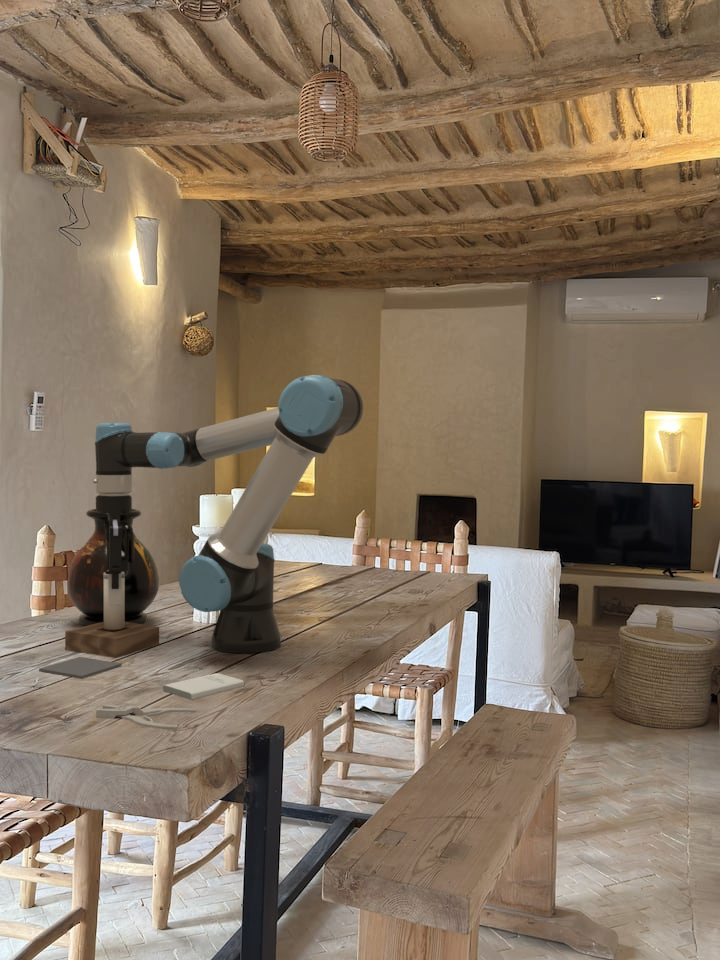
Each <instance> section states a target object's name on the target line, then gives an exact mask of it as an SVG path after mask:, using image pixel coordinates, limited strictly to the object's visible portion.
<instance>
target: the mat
mask: <svg viewBox="0 0 720 960" xmlns="http://www.w3.org/2000/svg"><path fill="white" fill-rule="evenodd" d="M122 666H123V665H122V663H121V662H115V661H109V660H104V659H103V660H102V659H96V658H91V657H85V656H84V657H83V656H77V657H75V658H71V659H67V660H63V661H60V662H57V663H54V664H50V665H46V666H42V667H40V668H38V669H39V671H38V672H44V673H48V674H53V673H54V674H55V675H59V674H60V675H61V676H64V675H66V677H70V676H72V677H71V678H76V677H77V679H81V678H82V679H85V678H89V677H91V676H95V675H97V674H101V673H103V672H108V671H110V670H113V669H117V668H119V667H120V668H121V667H122ZM60 675H59V676H60ZM88 676H89V677H88ZM84 677H85V678H84Z"/></svg>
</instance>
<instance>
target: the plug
mask: <svg viewBox="0 0 720 960" xmlns="http://www.w3.org/2000/svg"><path fill="white" fill-rule="evenodd" d="M103 578H104V629H108V630H116V629H122V628H125V572H121V604H108V574H105V572H104V574H103Z"/></svg>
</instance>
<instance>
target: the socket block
mask: <svg viewBox="0 0 720 960" xmlns="http://www.w3.org/2000/svg"><path fill="white" fill-rule="evenodd" d="M64 636H65V637H64V638H65V641H64V645H65V647H64V650H66V651H69V652H70V651H71V652H77V653H82V654H83V653H84V654H89V655H95V656H96V655H97V656H103V657H109V658H119V657H123V656H127V655H130V654H132V653H133V654H134V653H136V651H137V652H139V650H140V651H142V650H146V649H150V648H152V647H156V646H159V645H160V626H158V625H150V624H136V623H129V622H125V628H122V629H116V630H108V629H104V622H100V623H96V624H92V625H88V626H84V627H83V626H80V627H77V628H72V629H69V630H65V631H64Z"/></svg>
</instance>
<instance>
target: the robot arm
mask: <svg viewBox="0 0 720 960" xmlns="http://www.w3.org/2000/svg"><path fill="white" fill-rule="evenodd" d="M363 414H364V402H363V399H362V395H361V394H360V392H359V390H358V389H357V388H356V387H355V386H354V385H353V384H352V383H350V382H348V381H346V380H343V379H337V378H331V377H327V376H325V375H321V374H320V375H319V374H312V375H304V376H300V377H298V378H297V377H296V379H293V380H292V381H291V382H290V383H288V384H287V386H286V387H285V388H284V389H283V391H282V392H281V394H280V397H279V400H278V405H277V407H274V408H270V409H267V410H264V411H259V412H256V413H255V412H254V413H252V414H248V415H245V416H240V417H237V418H234V419H229V420H226V421H222V422H219V423H215V424H212V425H207V426H204V427H201V428H196V429H192V430H189V431H185V432H168V431H158V432H157V431H156V432H149V431H148V432H135V431H133V429H132V425H131V424H130V423H124V422H112V423H111V422H101V423H98V424H97V426H96V429H95V441H94V446H95V448H94V449H95V477H96V478H94V479H92V483H93V484H95V492H96V493H97V494H98V495H96V497H95V509H96V512H98V513H108V521H104V528H105V539H106V541H107V562H106V564H107V571H105V574H108V604H121V572H122V540H123V529H124V522H123V521H120V513H129V512H131V510H132V509H133V508H132V507H133V503H132V501H133V498H132V497H133V496H132V495H130V494H131V493H132V492H133V475H132V469H133V468H149V469H150V468H151V469H175V468H177V467H187V468H190V467H196V466H197V467H198V466H200V465H203V464H205V463H206V462H209V461H213V460H217V459H220V458H225V457H229V456H233V455H237V454H241V453H245V452H249V451H253V450H257V449H261V448H265V447H268V446H269V448H268V449H267V451H266V453H265V455H264V456H263V458H262V460H261V462H260V463H259V464H258V467H257V469H256V470H255V472H254V474H253V475H252V477H251V478H250V480H249V482H248V484H247V485H246V487H245V489H244V490H243V493H242V494H241V496H240V497H239V499H238V501H237V503H236V504H235V506H234V508H233V510H232V512H231V513H230V515H229V516H228V518H227V520H226V521H225V523H224V525H223V527H222V529H221V530H220V531H219V533H214V534H210V535H209V537H208V538H207V540H206V541H205V542H204V545H203V547H202V548H201V550H200V551H199V553H198V555H194V556H192V557H191V558H190V559H188V560H186V562H184V563H183V565H182V567H181V569H180V572H179V576H178V577H179V578H178V583H179V587H180V590H181V594H182V597H183V598H184V601H186V603H188V605H190V607H192V608H193V609H195V610H197V611H200V612H203V613H212V612H219V614H218V617H217V620H216V623H215V626H214V630H213V633H212V635H211V647H212V648H213V649H215V650H218V651H222V652H227V653H238V654H239V653H241V654H243V653H246V654H248V653H249V654H250V653H251V654H252V653H263V652H269V651H274V650H276V649H278V648H280V647H281V644H282V643H281V640H282V639H281V637H282V636H281V633H280V629H279V626H278V623H277V620H276V616H275V613H274V577H275V574H274V573H275V572H274V571H275V569H274V568H275V561H276V560H275V556H274V553H275V552H274V548H273V546H272V545H271V544H268V543H264V542H265V540H266V538H267V537H268V535H269V534H270V531H271V530H272V528H273V526H274V525H275V524H276V521H277V519H278V518H279V516H280V515H281V513H282V512H283V510H284V508H285V506H286V504H287V503H288V501H289V499H290V498H291V496H292V494H293V493H294V491H295V489H296V488H297V486H298V485H299V482H300V481H301V479H302V478H303V476H304V474H305V473H306V471H307V469H308V468H309V466H310V464H311V462H312V461H313V459H314V458H316V457H319V456H323V455H325V454H326V452H327V451H328V449H329V447H330V445H331V444H332V442H333V441H334V439H335V437H337V436H344V435H346V434H348V433H350V432H352V431H353V430H355V428H356V427H357V426H358V425H359V424H360V422H361V421H362V418H363ZM108 569H109V570H108Z"/></svg>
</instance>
